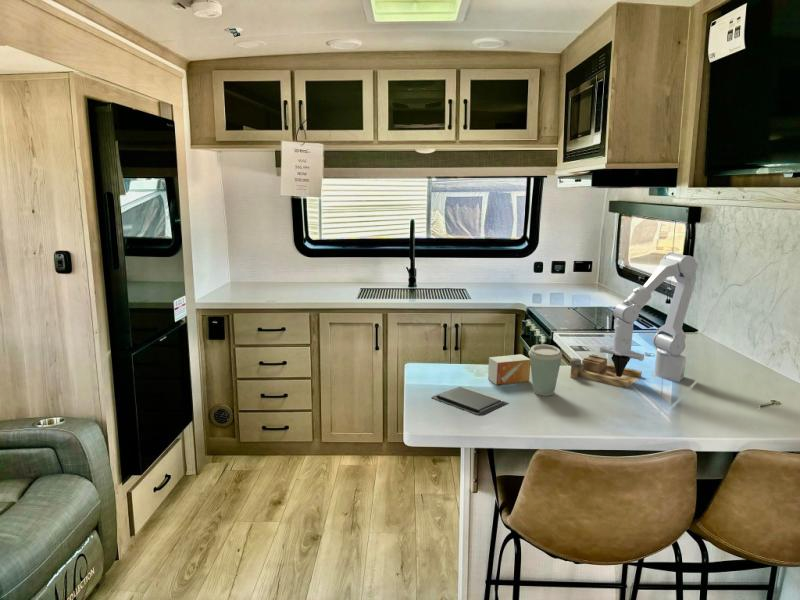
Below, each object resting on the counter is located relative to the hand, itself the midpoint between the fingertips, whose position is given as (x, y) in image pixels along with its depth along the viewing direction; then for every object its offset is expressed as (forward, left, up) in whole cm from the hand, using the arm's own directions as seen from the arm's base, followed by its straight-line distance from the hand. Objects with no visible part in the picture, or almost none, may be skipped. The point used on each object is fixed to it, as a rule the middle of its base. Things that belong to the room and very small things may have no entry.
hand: (619, 375), depth 200 cm
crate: (+9, 0, -1) cm, 9 cm away
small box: (+25, +21, +2) cm, 33 cm away
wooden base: (+4, +2, -2) cm, 5 cm away
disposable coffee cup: (+15, +29, -2) cm, 33 cm away
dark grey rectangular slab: (+29, +51, -2) cm, 59 cm away
